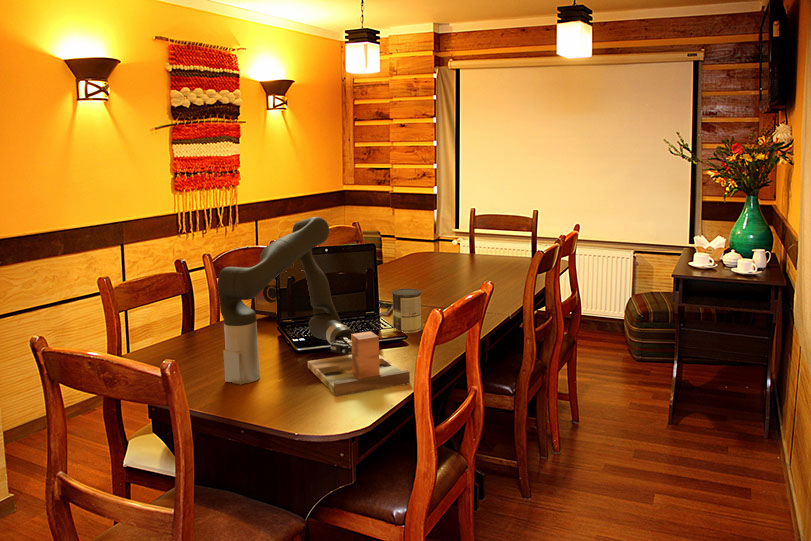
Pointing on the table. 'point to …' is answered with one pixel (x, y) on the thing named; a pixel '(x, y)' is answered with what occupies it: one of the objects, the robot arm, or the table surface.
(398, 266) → the table surface
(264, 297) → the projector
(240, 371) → the robot arm
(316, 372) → the trap box
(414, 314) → the coffee can
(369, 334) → the block
